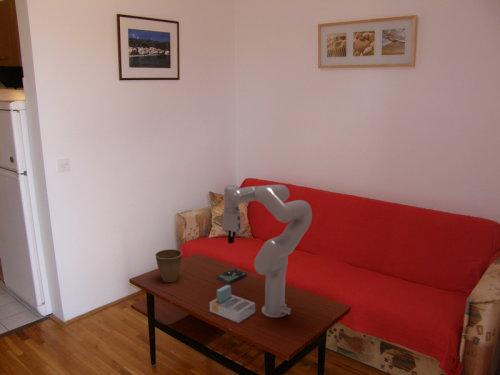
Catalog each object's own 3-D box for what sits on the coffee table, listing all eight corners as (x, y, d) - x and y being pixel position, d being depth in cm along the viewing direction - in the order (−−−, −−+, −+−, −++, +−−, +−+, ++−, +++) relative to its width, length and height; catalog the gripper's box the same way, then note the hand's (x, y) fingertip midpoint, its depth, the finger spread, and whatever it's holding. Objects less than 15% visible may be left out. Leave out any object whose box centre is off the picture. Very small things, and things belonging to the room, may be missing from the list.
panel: (231, 304, 216) (231, 286, 214) (220, 310, 210) (220, 291, 208) (227, 303, 218) (227, 284, 216) (216, 309, 212) (216, 290, 210)
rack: (255, 312, 211) (255, 302, 210) (238, 323, 200) (238, 312, 199) (226, 301, 221) (226, 292, 220) (209, 311, 211) (209, 301, 210)
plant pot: (174, 272, 257) (174, 247, 254) (187, 281, 246) (187, 254, 242) (151, 279, 248) (150, 252, 244) (163, 288, 236) (163, 260, 233)
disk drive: (233, 272, 260) (216, 280, 248) (233, 268, 259) (216, 275, 248) (247, 277, 253) (230, 285, 242) (247, 273, 253) (230, 280, 241)
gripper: (247, 210, 224) (246, 243, 228) (224, 205, 232) (224, 238, 236) (238, 213, 218) (238, 247, 222) (215, 208, 226) (215, 241, 230)
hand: (231, 242), depth 229 cm, fingers closed
